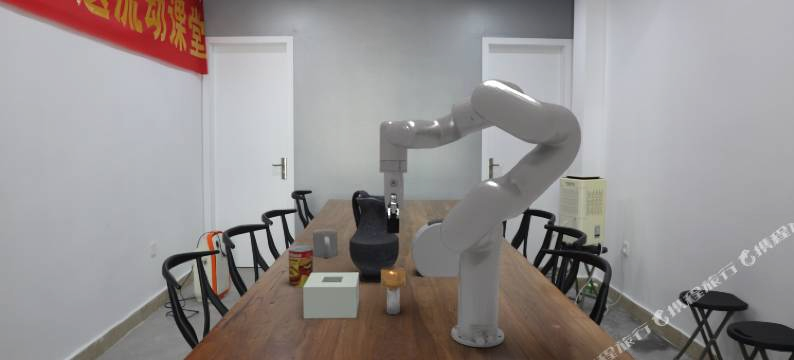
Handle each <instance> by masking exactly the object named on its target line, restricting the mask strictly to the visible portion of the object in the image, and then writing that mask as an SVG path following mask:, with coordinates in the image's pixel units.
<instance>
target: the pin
mask: <svg viewBox="0 0 794 360" xmlns="http://www.w3.org/2000/svg"><path fill="white" fill-rule="evenodd" d="M406 276H407V270H406V268H405V267H403V266H402V267H401V266H392V267H385V268H382V269H381V281H380V285H381V286H382V287H384V288H386V313H387V314H388V313H389V314H388V315H391V314H396V315H398V314H397V313H399V312H400V311H401V309H400V305H401V303H400V302H401V301H400V300H401V299H400V296H401V295H400V294H401V290H400V289H401V288H402V287H405V286H406V285H407V283H406V280H407V279H406V278H407V277H406ZM399 314H400V313H399Z"/></svg>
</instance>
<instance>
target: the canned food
mask: <svg viewBox="0 0 794 360" xmlns="http://www.w3.org/2000/svg"><path fill="white" fill-rule="evenodd" d="M311 273H314V255H313V246H311V245H296V246H291V247H289V248H288V281H289V282H288V286H290V287H291V288H303V287H304V285H305V283H306V281H307V280H308V278H309V276H310V274H311Z"/></svg>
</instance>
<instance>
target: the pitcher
mask: <svg viewBox="0 0 794 360" xmlns="http://www.w3.org/2000/svg"><path fill="white" fill-rule="evenodd" d="M351 197H352V198H351V207H352V214H353V218H354V222H355V227H356V230H355V232H354V234H353V235H352V236H351V237H350V239H349V245H348V247H349V249H348V250H349V257H350V259H351V261H352V262H353V264H354V267H356V269H358V270H359V271H360V272H361V273H362V274H361V275H360V279H361V280H362V279H363V281H365V282H371V281H375V282H381V269H382V268H385V267H394V266H395V264H396V262H397V260H398V258H399V253H400V239H399V236H398V235H397V233H387V212H388V210H387V209H386V207H385V199H384V195H373V194H371V195H370V194H369V192H368V191H366V190H361V189H360V190H356V191H354V192H353V194H352V196H351Z"/></svg>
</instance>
